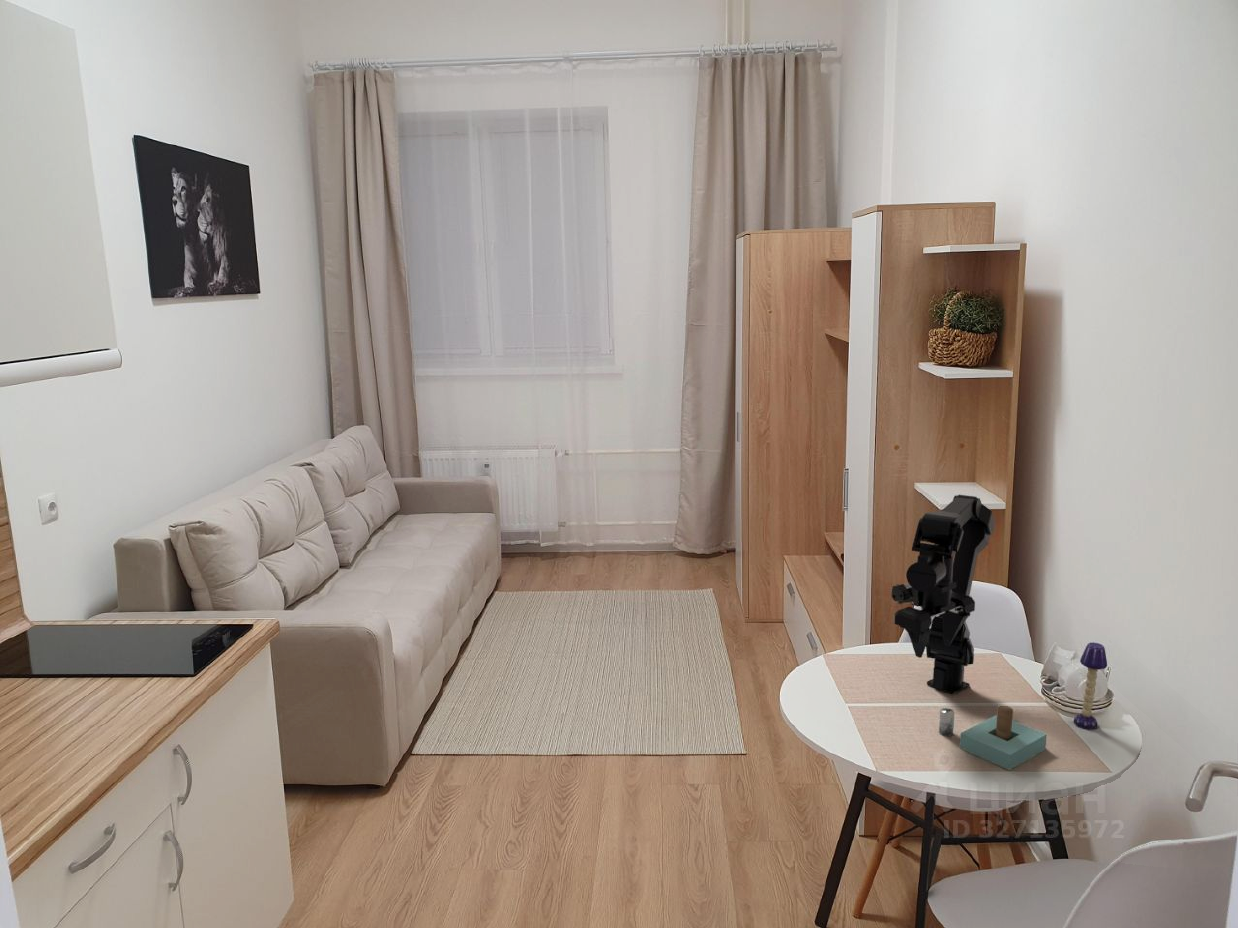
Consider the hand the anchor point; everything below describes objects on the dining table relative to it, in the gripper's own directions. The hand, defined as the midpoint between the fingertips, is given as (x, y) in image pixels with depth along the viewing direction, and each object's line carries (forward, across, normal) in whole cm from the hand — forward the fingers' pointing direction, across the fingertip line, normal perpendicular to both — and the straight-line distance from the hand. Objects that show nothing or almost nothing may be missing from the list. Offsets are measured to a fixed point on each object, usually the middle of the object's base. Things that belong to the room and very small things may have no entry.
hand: (932, 651), depth 188 cm
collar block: (+12, +3, +18) cm, 22 cm away
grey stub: (+12, +6, +8) cm, 16 cm away
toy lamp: (+13, -18, +23) cm, 32 cm away
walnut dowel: (+12, +3, +18) cm, 22 cm away
